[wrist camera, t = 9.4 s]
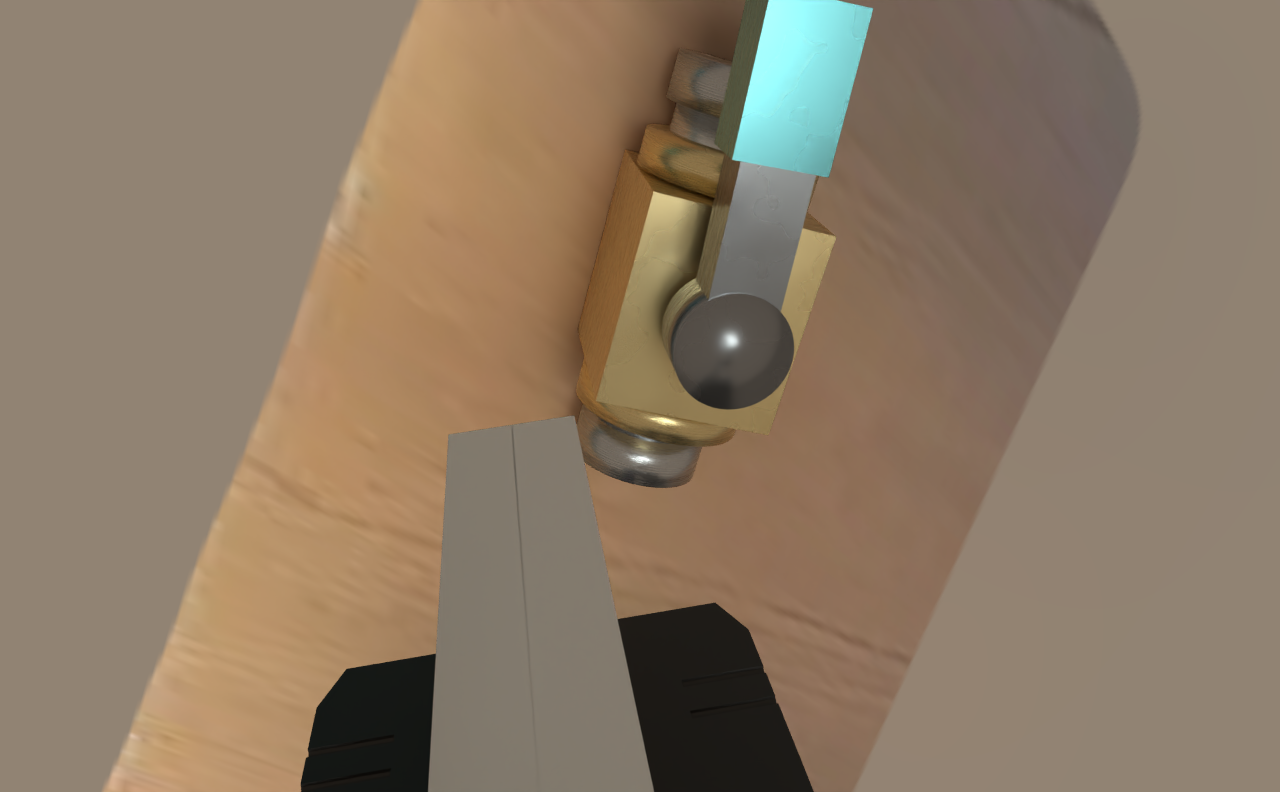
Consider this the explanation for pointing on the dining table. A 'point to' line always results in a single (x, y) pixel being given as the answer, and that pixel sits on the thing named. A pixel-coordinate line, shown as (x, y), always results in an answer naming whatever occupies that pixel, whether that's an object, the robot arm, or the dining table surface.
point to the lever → (763, 195)
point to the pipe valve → (668, 295)
